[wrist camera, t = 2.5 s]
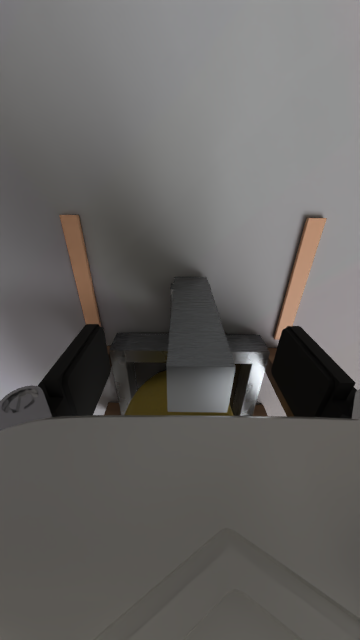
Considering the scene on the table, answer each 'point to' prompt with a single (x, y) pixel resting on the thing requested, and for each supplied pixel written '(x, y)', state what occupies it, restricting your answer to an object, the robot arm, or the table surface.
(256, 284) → the table surface
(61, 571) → the robot arm
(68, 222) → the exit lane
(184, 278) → the grey tray with upright
